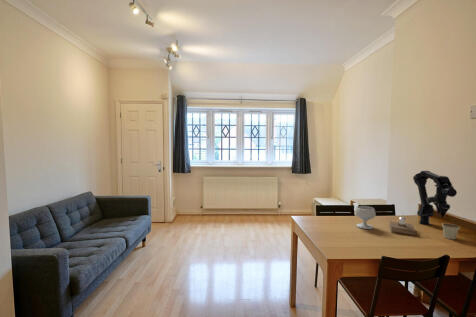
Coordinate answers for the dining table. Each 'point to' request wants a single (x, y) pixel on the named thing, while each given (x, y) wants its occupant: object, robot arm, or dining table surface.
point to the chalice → (365, 216)
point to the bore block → (402, 228)
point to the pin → (402, 221)
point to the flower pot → (450, 230)
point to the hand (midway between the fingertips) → (440, 215)
